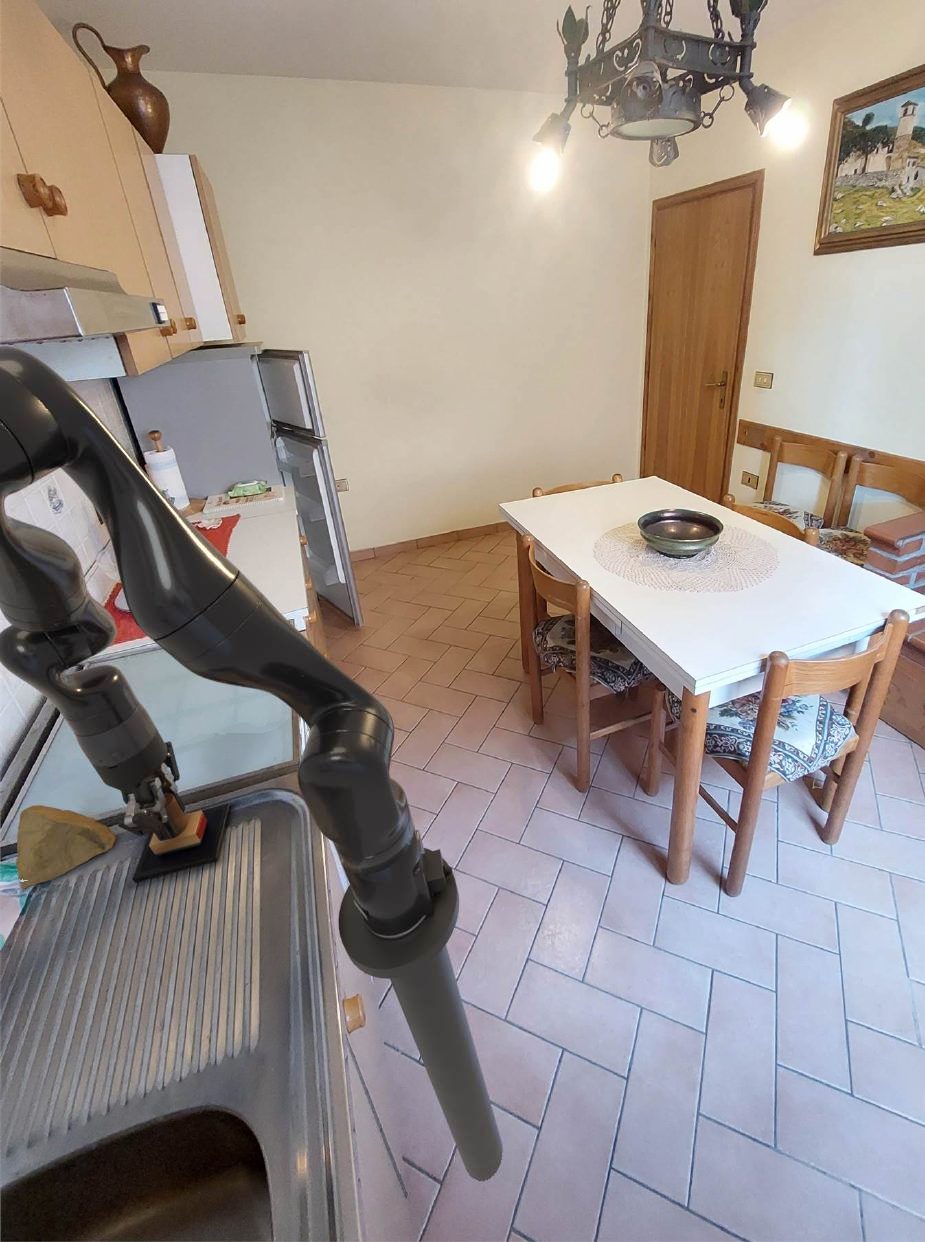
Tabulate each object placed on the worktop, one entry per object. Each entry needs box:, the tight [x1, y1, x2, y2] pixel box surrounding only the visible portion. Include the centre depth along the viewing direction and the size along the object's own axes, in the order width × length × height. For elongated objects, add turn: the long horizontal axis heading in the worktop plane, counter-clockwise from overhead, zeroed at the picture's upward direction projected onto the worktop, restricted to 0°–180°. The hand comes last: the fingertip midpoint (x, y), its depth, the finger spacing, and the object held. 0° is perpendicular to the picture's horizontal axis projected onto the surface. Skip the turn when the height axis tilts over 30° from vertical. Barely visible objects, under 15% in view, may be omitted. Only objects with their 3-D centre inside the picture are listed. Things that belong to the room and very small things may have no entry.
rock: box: [15, 804, 116, 890], centre depth 78 cm, size 11×9×10 cm
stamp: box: [149, 793, 207, 856], centre depth 78 cm, size 6×4×8 cm, turn 103°
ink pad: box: [131, 803, 232, 884], centre depth 81 cm, size 11×9×1 cm
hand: (173, 824), depth 79 cm, fingers closed on stamp, 3 cm apart
